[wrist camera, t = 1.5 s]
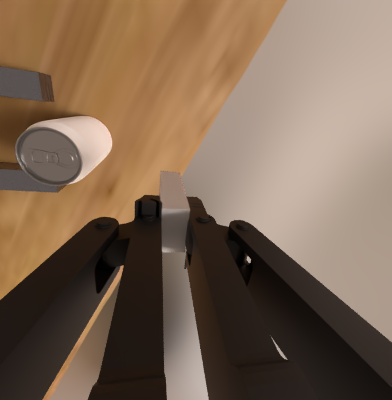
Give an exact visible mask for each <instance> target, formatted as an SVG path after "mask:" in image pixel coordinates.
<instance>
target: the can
mask: <svg viewBox="0 0 392 400" xmlns="http://www.w3.org/2000/svg"><path fill="white" fill-rule="evenodd" d="M111 148H112V139H111V135H110V132H109V131H108V129H107V128H106V126H105V125H104V124H103V123H102V122H100V121H99V120H97V119H95V118H93V117H89V116H75V117H67V118H60V119H52V120H46V121H41V122H38V123H35V124H33V125H31V126H30V127H28V128H27V129H26V130H25V131H24V132H23V133H22V134H21V135H20V136H19V137H18V139H17V141H16V144H15V155H16V159H17V161H18V163H19V165H20V167H21V168H22V169H23V170H24V172H25V173H26V174H27V175H29V176H30V177H31V178H33V179H34V180H36V181H38V182H40V183H43V184H46V185H50V186H63V185H67V184H72V183H75V182H77V181H79V180H81V179H83V178H84V177H85V176H86V175H87V174H89V173H90V172H91V171H92V170H93V169H94V168H95V167H96V166H97V165H98V164H99V163H100V162H101V161H102V160H103V159H104V158H105V157H106V156H107V155H108V154H109V152H110V150H111Z"/></svg>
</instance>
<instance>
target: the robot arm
mask: <svg viewBox="0 0 392 400" xmlns="http://www.w3.org/2000/svg"><path fill="white" fill-rule="evenodd" d="M185 246H186V249H187V251H186V259H185V268H184V269H186V267H187V269H188V275H189V282H190V288H191V293H192V300H193V306H194V312H195V317H196V324H197V330H198V336H199V342H200V349H201V355H202V360H203V367H204V373H205V379H206V385H207V391H208V397H209V400H392V342H390V341H389V340H388V339H387V338H386V337H385V336H383V335H382V334H381V333H380V332H379V331H377V330H376V329H375V328H374V327H373V326H371V325H370V324H369V323H368V322H367V321H365V320H364V319H363V318H362V317H361V316H360V315H358V314H357V313H356V312H355V311H354V310H352V309H351V308H350V307H349V306H348V305H346V304H345V303H344V302H343V301H342V300H340V299H339V298H338V297H337V296H336V295H335V294H333V293H332V292H331V291H330V290H329V289H327V288H326V287H325V286H324V285H323V284H321V283H320V282H319V281H318V280H317V279H316V278H314V277H313V276H312V275H311V274H310V273H308V272H307V271H306V270H305V269H304V268H302V267H301V266H300V265H299V264H298V263H297V262H295V261H294V260H293V259H292V258H291V257H289V256H288V255H287V254H286V253H285V252H283V251H282V250H281V249H280V248H279V247H277V246H276V245H275V244H274V243H273V242H272V241H270V240H269V239H268V238H267V237H266V236H264V235H263V234H262V233H261V232H259V231H258V230H257V229H256V228H255V227H254V226H253V225H251V224H249V223H248V222H245V221H242V220H234V221H231V222H230V225H229V227H227V226H222V225H218V224H217V223H216V221H215V219H214V218H213V217H212V216H210V215H208V214H207V213H206V211H205V208H204V206H203V203H202V201H201V200H200V199H199V198H197V197H186V194H185V190H184V187H183V183H182V180H181V176H180V173H179V172H168V171H160V189H159V196H154V195H144V196H143V197H142V198H140V199H138V200H136V201H135V218H134V221H132V222H129V223H126V224H120V225H119V223H118V221H117V220H116V219H114V218H111V217H100V218H97V219H94V220H92V221H90V222H89V223H88V224H87V225H85V226H84V227H83V228H82V229H81V230H80V231H79V232H77V233H76V234H75V235H74V236H73V237H72V238H71V239H69V240H68V241H67V242H66V243H65V244H64V245H63V246H61V247H60V248H59V249H58V250H57V251H56V252H55V253H53V254H52V255H51V256H50V257H49V258H48V259H47V260H46V261H44V262H43V263H42V264H41V265H40V266H39V267H38V268H36V269H35V270H34V271H33V272H32V273H31V274H30V275H28V276H27V277H26V278H25V279H24V280H23V281H22V282H20V283H19V284H18V285H17V286H16V287H15V288H14V289H12V290H11V291H10V292H9V293H8V294H7V295H6V296H4V297H3V298H2V299H1V300H0V400H42V399H43V398H44V396H45V394H46V393H47V391H48V389H49V387H50V386H51V384H52V382H53V381H54V379H55V377H56V376H57V374H58V372H59V371H60V369H61V367H62V366H63V364H64V362H65V361H66V359H67V357H68V356H69V354H70V352H71V351H72V349H73V347H74V346H75V344H76V342H77V341H78V339H79V337H80V335H81V334H82V332H83V330H84V329H85V327H86V325H87V324H88V322H89V320H90V319H91V317H92V315H93V314H94V312H95V310H96V309H97V307H98V305H99V304H100V302H101V300H102V299H103V297H104V295H105V294H106V292H107V290H108V289H109V287H110V285H111V283H112V282H113V280H114V278H115V277H116V275H117V273H118V272H119V270H120V266H122V265H124V268H123V272H122V277H121V281H120V286H119V290H118V295H117V299H116V303H115V308H114V312H113V317H112V321H111V326H110V330H109V335H108V340H107V344H106V348H105V352H104V357H103V361H102V366H101V371H100V374H99V378H98V380H97V382H96V383H95V384H94V386H93V387H92V390H91V392H90V395H89V398H88V400H167V395H166V377H165V374H164V348H163V347H164V346H163V343H164V342H163V287H162V286H163V283H162V252H185ZM247 256H249V257H250V259H251V263H248V261H247ZM270 335H271V336H270ZM271 337H272V338H273V340H274V341H275V342H276V344H277V345H278V347H279V348H280V350H281V351H282V352H283V354H284V355H285V357H286V358H287V359H288V360H286V359H284V358H283V357H282V356H281V355H280V354H279V352H278V350H277V348H276V346H275V344H274V342H273V340H272V338H271Z"/></svg>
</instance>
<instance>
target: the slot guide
mask: <svg viewBox="0 0 392 400" xmlns="http://www.w3.org/2000/svg"><path fill="white" fill-rule="evenodd" d="M0 96H6V97H13V98H21V99H29V100H37V101H51V102H54V96H53V89H52V82H51V76H49V75H46V74H42V73H38V72H32V71H25V70H19V69H12V68H5V67H0ZM65 186H66V185H63V186H50V185H46V184H43V183H40V182H38V181H36V180H34V179H33V178H31V177H30V176H29V175H27V174H26V173H25V172H24V170H23V169H22V168H21V167H20V165H19V164H18V163H4V162H0V190H16V191H37V192H57V193H58V192H59V191H60V190H61V189H63V188H64V187H65Z"/></svg>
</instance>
